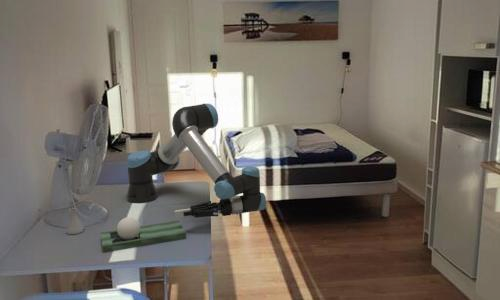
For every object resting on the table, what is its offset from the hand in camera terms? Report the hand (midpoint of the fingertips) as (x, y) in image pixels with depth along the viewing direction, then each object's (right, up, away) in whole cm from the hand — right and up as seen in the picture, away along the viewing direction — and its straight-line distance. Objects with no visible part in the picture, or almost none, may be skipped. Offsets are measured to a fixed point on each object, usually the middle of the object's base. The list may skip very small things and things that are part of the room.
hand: (175, 214), depth 195 cm
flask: (-43, -9, +7) cm, 45 cm away
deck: (-12, -9, -2) cm, 16 cm away
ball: (-18, -5, -5) cm, 19 cm away
